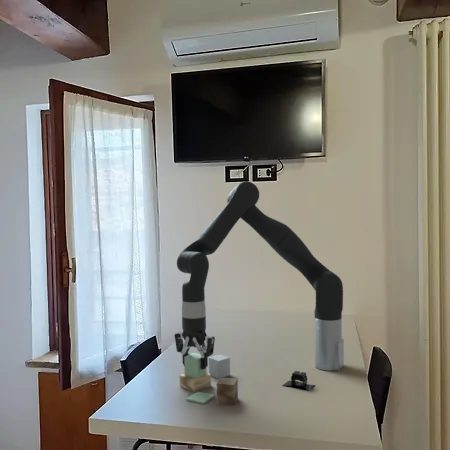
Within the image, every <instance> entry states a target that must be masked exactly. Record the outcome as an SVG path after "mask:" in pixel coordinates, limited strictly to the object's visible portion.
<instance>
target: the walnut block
mask: <svg viewBox="0 0 450 450" xmlns="http://www.w3.org/2000/svg"><path fill="white" fill-rule="evenodd" d="M238 381H239V380H238V378H233V377H232V378H231V377H230V378H229V377H223V378H220V379H218V382H217V383H216V404H217V405H224V406H235V404H236V403H237V401H238V399H239V397H238V396H239V394H238V393H239V389H238V388H239V387H238V386H239V385H238V384H239V383H238Z"/></svg>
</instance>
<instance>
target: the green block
mask: <svg viewBox="0 0 450 450" xmlns="http://www.w3.org/2000/svg"><path fill="white" fill-rule="evenodd" d="M188 354H189V355H187V356H185V357H184V364H185V366H184V373H185V376H188V377H194V378H200V377H201V376H203V375H205V374H206V373H207V372H208V371H207V367H206V368H205V369H204V370H203V369H201V358H202V357H201V355H200V353H199V352H198V353H197V352H191V353H188ZM184 364H183V365H184Z"/></svg>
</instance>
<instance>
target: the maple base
mask: <svg viewBox="0 0 450 450" xmlns="http://www.w3.org/2000/svg"><path fill="white" fill-rule="evenodd" d="M211 386H212V376H211V374H209V372H208V373H206V374H205V375H203V376H201V377H200V378H194V377H188V376H185V372H184V373H181V374H179V387H180V388H183V389H186V390H188V391H190V392H195V393H196V392H199V391H200V390H203V389H206V388H208V387H211Z"/></svg>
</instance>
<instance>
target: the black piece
mask: <svg viewBox="0 0 450 450" xmlns="http://www.w3.org/2000/svg"><path fill="white" fill-rule="evenodd" d="M281 386H282V387H285V388H290V389H296V390H301V391H307V392H312V391H313V390H314V388H316V386H317V385H314V384H310V383H308V375H307V372H304V371H302V372H300V370H299V371H298V370H295V371H294V372H292V374H291V377H290V380H288V381H286V382H285V383H284V384H282V385H281Z"/></svg>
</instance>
